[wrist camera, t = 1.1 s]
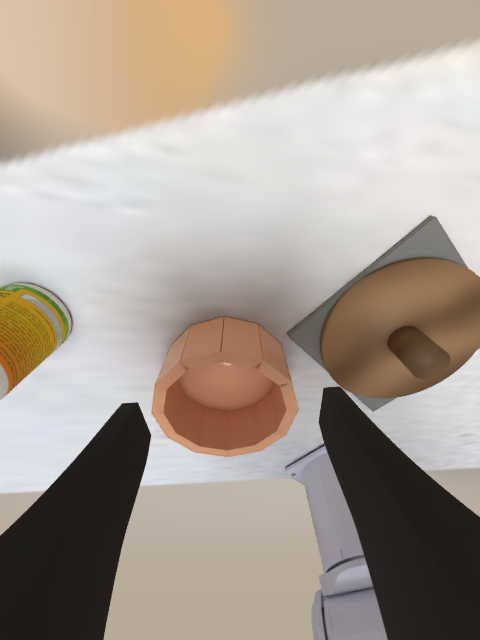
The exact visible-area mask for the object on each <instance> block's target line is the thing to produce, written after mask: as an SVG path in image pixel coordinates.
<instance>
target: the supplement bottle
mask: <svg viewBox="0 0 480 640" xmlns="http://www.w3.org/2000/svg"><path fill="white" fill-rule="evenodd" d="M70 331H71V318H70V315H69V313H68V311H67V309H66V308H65V306H64V305H63V304H62V303H61V301H60V300H59V299H58V298H56V297H55V296H54V295H53V294H51V293H50V292H48V291H46V290H45V289H42V288H40V287H38V286H35V285H32V284H27V283H14V284H9V285H6V286H3V287H1V288H0V400H1V399H2V398H4V397H5V396H6V395H7V394H8V393H9V392H10V391H11V390H12V389H13V388H14V387H16V386H17V385H18V384H19V383H20V382H21V381H22V380H23V379H24V378H25V377H26V376H27V375H29V374H30V373H31V372H32V371H33V370H34V369H35V368H36V367H37V366H38V365H39V364H41V363H42V362H43V361H44V360H45V359H46V358H47V357H48V356H49V355H50V354H52V353H53V352H54V351H55V350H56V349H57V348H58V347H59V346H60V345H61V344H62V343H63V342H64V341H65V340H66V339H67V338H68V336H69V334H70Z"/></svg>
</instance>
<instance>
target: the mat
mask: <svg viewBox="0 0 480 640" xmlns="http://www.w3.org/2000/svg"><path fill="white" fill-rule="evenodd" d="M418 257H433V258H439V259H445V260H448V261H451V262H453V263H456V264H459V265H462V266H464V267H466V268H468V267H467V266H466V264H465V263H464V261H463V259H462V258H461V256H460V255H459V253H458V251H457V250H456V248H455V247H454V245H453V243H452V242H451V240H450V239H449V237H448V235H447V234H446V232H445V231H444V229H443V227H442V226H441V224H440V223H439V221H438V219H437V218H436V217H434V216H430V217H429V218H427V219H426V220H425V221H424V222H423V223H421V224H420V225H419V226H418V227H416V228H415V229H414V230H413V231H412V232H410V233H409V234H408V235H407V236H406V237H404V238H403V239H402V240H401V241H399V242H398V243H397V244H396V245H395V246H393V247H392V248H391V249H390V250H388V251H387V252H386V253H385V254H384V255H382V256H381V257H380V258H379V259H378V260H376V261H375V262H374V263H373V264H371V265H370V266H369V267H368V268H367V269H365V270H364V271H363V272H362V273H360V274H359V275H358V276H357V277H356V278H354V279H353V280H352V281H351V282H350V283H348V284H347V285H346V286H345V287H343V288H342V289H341V290H340V291H339V292H337V293H336V294H335V295H334V296H332V297H331V298H330V299H329V300H328V301H326V302H325V303H324V304H323V305H322V306H320V307H319V308H318V309H317V310H315V311H314V312H313V313H312V314H311V315H309V316H308V317H307V318H306V319H304V320H303V321H302V322H301V323H300V324H298V325H297V326H296V327H295V328H294V329H292V330H291V331H290V332H289V333H288V336H289V337H290V338H291V339H292V340H293V341H294V342H295V343H296V344H297V345H299V346H300V347H301V348H302V349H303V350H304V351H305V352H306V353H308V354H309V355H310V356H311V357H312V358H313V359H314V360H315V361H317V362H318V363H319V364H320V365H321V366H322V367H323V368H324V369H326V370H327V368H326V366H325V364H324V362H323V359H322V355H321V349H320V339H321V333H322V328H323V325H324V323H325V320H326V318H327V316H328V314H329V312H330V310H331V309H332V307H333V306H334V304H335V303H336V302H337V300H338V299H339V298H340V297H341V296H342V295H343V293H344V292H345V291H346V290H347V289H349V288H350V287H351V286H352V285H353V284H354V283H356V282H357V281H358V280H360V279H361V278H362V277H364V276H365V275H367V274H369V273H371V272H372V271H374V270H376V269H378V268H380V267H383V266H385V265H387V264H390V263H393V262H396V261H400V260H404V259H409V258H418ZM479 348H480V346H479V347H478V349H479ZM478 349H477V350H478ZM327 371H328V370H327ZM353 394H354V393H353ZM354 395H355V396H356V397H357V398H358V399H359V400H361V401H362V402H363V403H364V404H365V405H366V406H367V407H368V408H370V409H371V410H372V411H373V412H374V411H375V410H377V409H379V408H380V407H382V406H384V405H385V404H387V403H389V402H390V401H392V400H394V399H395V398H397V397H395V398H369V397H364V396H360V395H357V394H354Z"/></svg>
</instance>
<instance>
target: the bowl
mask: <svg viewBox="0 0 480 640" xmlns="http://www.w3.org/2000/svg"><path fill="white" fill-rule="evenodd" d="M297 412H298V406H297V402H296V398H295V394H294V390H293V386H292V382H291V378H290V375H289V371H288V367H287V364H286V360H285V356H284V353H283V349H282V345H281V343H280V342H279V341H278V340H276V339H275V338H274V337H273V336H272V335H271V334H269V333H268V332H267V331H266V330H265V329H264V328H262V327H261V326H260V325H259V324H257V323H252V322H248V321H243V320H238V319H234V318H229V317H220V318H217V319H213V320H209V321H205V322H201V323H198V324H194V325H192V326H190V327H189V328H188V329H187V330H186V331H185V332H184V333H183V334H182V335H181V336H180V337H179V338H178V339H177V340H176V341H175V342H174V343H173V344H172V345H171V346H170V349H169V351H168V354H167V356H166V359H165V361H164V363H163V366H162V368H161V371H160V373H159V376H158V378H157V381H156V383H155V386H154V395H153V404H152V415H153V416H154V418H155V419H156V421H157V422H158V424H159V425H160V427H161V428H162V430H163V432H164V433H165V435H166V436H167V437H168V438H170V439H171V440H173V441H175V442H177V443H179V444H181V445H182V446H184V447H186V448H188V449H190V450H191V451H193V452H195V451H196V453H203V454H210V455H217V456H224V457H231V456H237V455H242V454H247V453H252V452H258V451H260V450H263V449H264V448H266V447H267V446H269V445H271V444H272V443H274V442H275V441H277V440H278V439H280V438H281V437H283V436H284V435H286V434H287V432H288V430H289V428H290V426H291V424H292V422H293V420H294V418H295V416H296V414H297Z"/></svg>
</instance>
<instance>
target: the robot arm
mask: <svg viewBox="0 0 480 640" xmlns="http://www.w3.org/2000/svg"><path fill="white" fill-rule="evenodd" d="M319 425H320V429H321V432H322V436H323V440H324V444H325V446H323V447H321V448H320V449H318V450H316V451H315V452H313V453H311V454H310V455H308V456H306V457H304V458H303V459H301V460H299V461H298V462H296V463H294V464H292V465H291V466H289V467H287V468H286V470H285V471H286V474H287V475H289V476H290V477H292V478H294V479H295V480H297V481H299V482H300V483H302V484H304V485H305V489H306V493H307V498H308V502H309V507H310V511H311V516H312V520H313V525H314V529H315V534H316V538H317V543H318V547H319V551H320V556H321V561H322V565H323V570H324V574H322V575H319V579H320V584H321V589H322V590H318V591H317V592H316V594H315V598H314V602H313V605H312V630H313V637H314V640H480V517H479V516H478V515H476V514H475V513H474V512H473V511H471V510H470V509H469V508H467V507H466V506H465V505H464V504H463V503H461V502H460V501H459V500H457V499H456V498H455V497H454V496H453V495H451V494H450V493H449V492H447V491H446V490H445V489H444V488H443V487H442V486H441V485H439V484H438V483H437V482H436V481H435V480H433V479H432V478H431V477H430V476H429V475H428V474H426V473H425V472H424V471H423V470H422V469H421V468H420V467H419V466H417V465H416V464H415V463H414V462H413V461H412V460H411V459H410V458H409V457H408V456H407V455H406V454H404V453H403V452H402V451H401V450H400V449H399V448H398V447H397V446H396V445H395V444H394V443H393V442H392V441H391V440H390V439H389V438H388V437H387V436H386V435H385V434H384V433H383V432H382V431H381V430H380V429H379V428H378V427H377V426H376V425H375V424H374V423H373V422H372V421H371V420H370V419H369V418H368V417H367V416H366V415H365V413H364V412H363V411H362V410H361V409H360V408H359V407H358V406H357V405H356V404H355V403H354V402H353V400H352V399H351V398H350V397H349V396H348V395H347V394H346V393H345V391H344V390H343V389H342V388H341V387H327V388H324V389H323V396H322V403H321V410H320V417H319ZM150 439H151V434H150V431H149V429H148V426H147V424H146V421H145V419H144V416H143V414H142V412H141V409H140V407H139V404H138V402H137V403H124V404H121V406H120V407H119V408H118V409H117V410H116V411H115V413H114V414H113V415H112V416H111V417H110V419H109V420H108V421H107V422H106V423H105V425H104V426H103V427H102V428H101V429H100V431H99V432H98V433H97V434H96V435H95V437H94V438H93V439H92V440H91V441H90V442H89V444H88V445H87V446H86V447H85V448H84V449H83V451H82V452H81V453H80V454H79V455H78V456H77V458H76V459H75V460H74V461H73V462H72V463H71V464H70V466H69V467H68V468H67V469H66V470H65V471H64V472H63V473H62V474H61V475H60V476H59V477H58V479H57V480H56V481H55V482H54V483H53V484H52V485H51V486H50V487H49V488H48V489H47V490H46V491H45V492H44V494H43V495H42V496H41V497H40V498H39V499H38V500H37V501H36V502H35V503H34V504H33V505H32V506H31V507H30V508H29V509H28V510H27V511H26V512H25V513H24V514H23V515H22V516H21V517H20V518H19V519H18V520H17V521H15V523H14V524H12V525H11V526H10V527H9V529H7V530H6V531H5V532H4V533H3V534H2V535H1V536H0V640H103V639H104V632H105V627H106V621H107V616H108V611H109V606H110V601H111V595H112V591H113V585H114V581H115V576H116V571H117V567H118V562H119V557H120V553H121V548H122V544H123V540H124V537H125V533H126V529H127V526H128V522H129V519H130V516H131V513H132V509H133V506H134V503H135V499H136V496H137V492H138V489H139V486H140V483H141V479H142V476H143V472H144V469H145V465H146V461H147V456H148V451H149V445H150Z"/></svg>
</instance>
